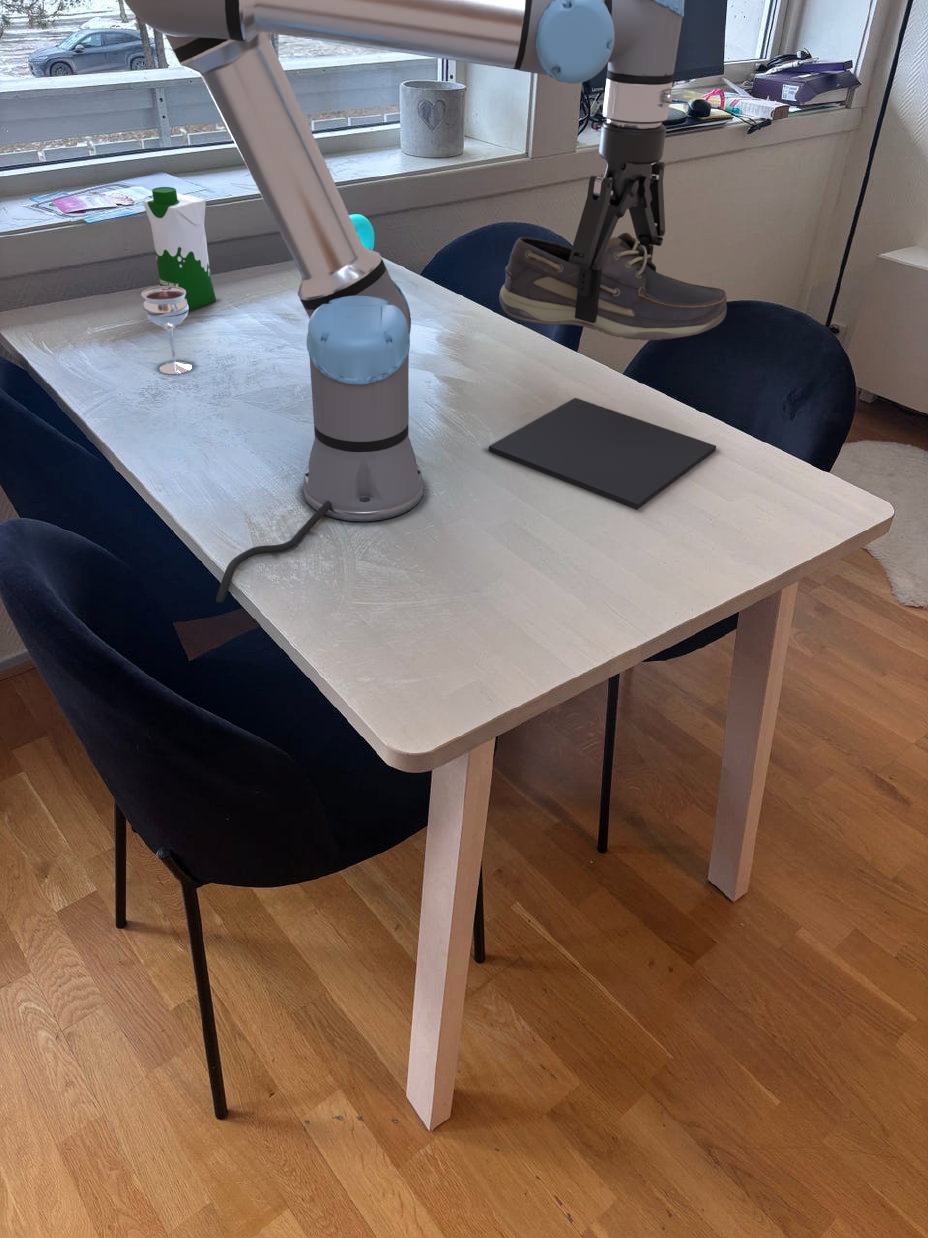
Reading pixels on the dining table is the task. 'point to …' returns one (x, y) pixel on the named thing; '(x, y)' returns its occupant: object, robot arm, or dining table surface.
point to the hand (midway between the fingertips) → (611, 307)
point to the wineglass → (167, 317)
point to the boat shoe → (608, 292)
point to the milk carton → (181, 244)
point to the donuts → (364, 230)
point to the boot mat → (604, 451)
